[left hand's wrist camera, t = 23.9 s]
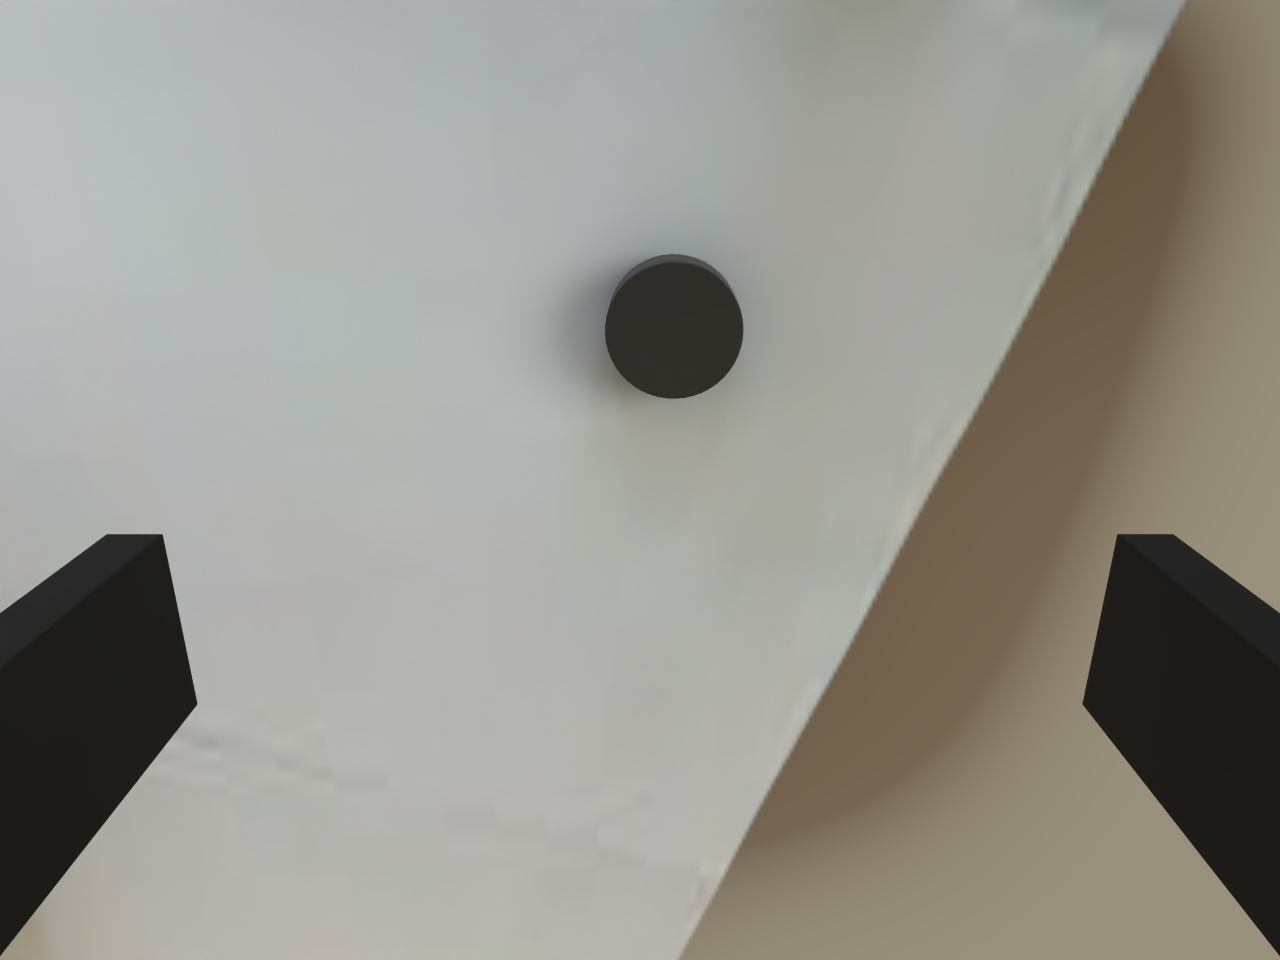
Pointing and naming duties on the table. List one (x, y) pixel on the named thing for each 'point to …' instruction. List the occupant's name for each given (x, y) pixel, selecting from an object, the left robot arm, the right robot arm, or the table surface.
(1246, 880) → the left robot arm
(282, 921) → the table surface
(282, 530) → the table surface
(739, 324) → the lid
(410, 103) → the table surface
